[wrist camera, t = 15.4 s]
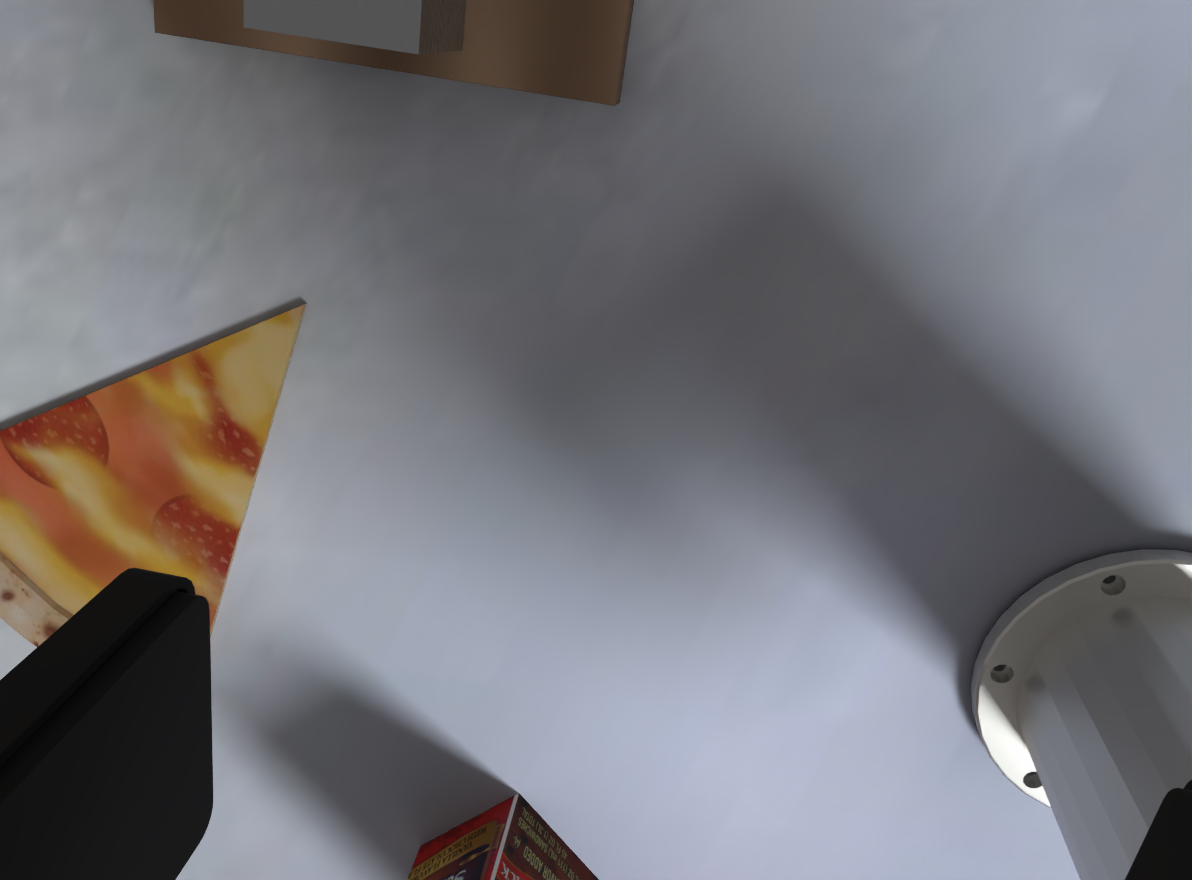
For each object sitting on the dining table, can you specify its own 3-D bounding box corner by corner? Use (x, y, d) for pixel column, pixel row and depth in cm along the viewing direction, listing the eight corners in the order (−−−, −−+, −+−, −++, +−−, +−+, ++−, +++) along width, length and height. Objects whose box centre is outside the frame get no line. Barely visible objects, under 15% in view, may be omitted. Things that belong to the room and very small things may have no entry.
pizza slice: (478, 622, 44) (467, 648, 42) (87, 740, 50) (62, 767, 48) (312, 299, 39) (291, 312, 37) (-101, 470, 45) (-137, 489, 43)
